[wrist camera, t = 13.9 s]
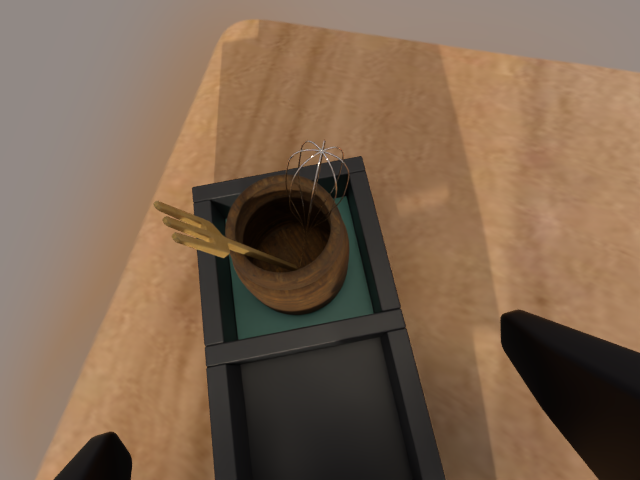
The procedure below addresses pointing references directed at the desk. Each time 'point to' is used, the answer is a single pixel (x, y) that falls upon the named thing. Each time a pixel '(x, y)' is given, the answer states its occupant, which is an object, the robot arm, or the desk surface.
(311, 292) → the utensil holder
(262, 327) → the organiser
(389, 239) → the desk surface
